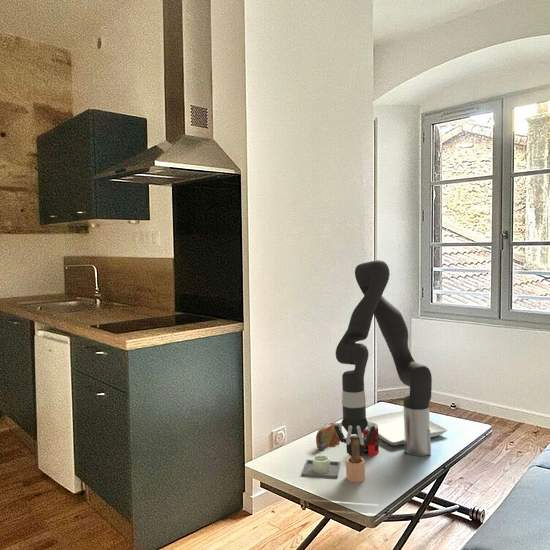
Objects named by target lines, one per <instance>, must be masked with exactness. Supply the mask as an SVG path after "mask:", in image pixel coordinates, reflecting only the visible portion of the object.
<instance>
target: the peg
mask: <svg viewBox="0 0 550 550" xmlns="http://www.w3.org/2000/svg"><path fill="white" fill-rule="evenodd" d="M350 442H351V455H350V457H351V463H360V462H361V458H362V456H360V439H359V436H357V435H356V434H353V435H351V438H350Z"/></svg>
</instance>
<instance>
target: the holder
mask: <svg viewBox="0 0 550 550" xmlns="http://www.w3.org/2000/svg"><path fill="white" fill-rule="evenodd" d="M311 460H313V471H314V472H316V473H320V474H324V473H328V472H329V471H330V461H331V458H330V457H329V455H325V454H316V455H314V456H313V457H312V459H311Z"/></svg>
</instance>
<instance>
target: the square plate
mask: <svg viewBox="0 0 550 550" xmlns="http://www.w3.org/2000/svg"><path fill="white" fill-rule="evenodd" d="M366 420H367V422H372V423H376V424H377V425H378V439H380V440H382V441H384V442H385V443H387V444H389V445H391V446H393V447H394V446H400V445H404V444H405V442H404V410H400V411H394V412H393V411H392V412H387V413H383V414H379V415H373V416H367V417H366ZM447 431H448V429H447V428H445V427H444V426H441V425H439V424H438V423H435V422H433V421H431V420H430V438H433V437H439V436H441V435H443V434H445V433H446V432H447Z"/></svg>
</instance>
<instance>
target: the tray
mask: <svg viewBox="0 0 550 550" xmlns="http://www.w3.org/2000/svg"><path fill="white" fill-rule="evenodd" d="M340 468H341V461H337V460H335V461H333V460H330V471H329V472H328V473H324V474H320V473H316V472H314V471H313V460H312V459H306V461H305V463H304V466H303V469H302V470H301V471H302V472H301V476H302V477H311V478H312V477H314V478H325V479H326V478H327V479H338V477H339V473H340Z"/></svg>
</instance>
